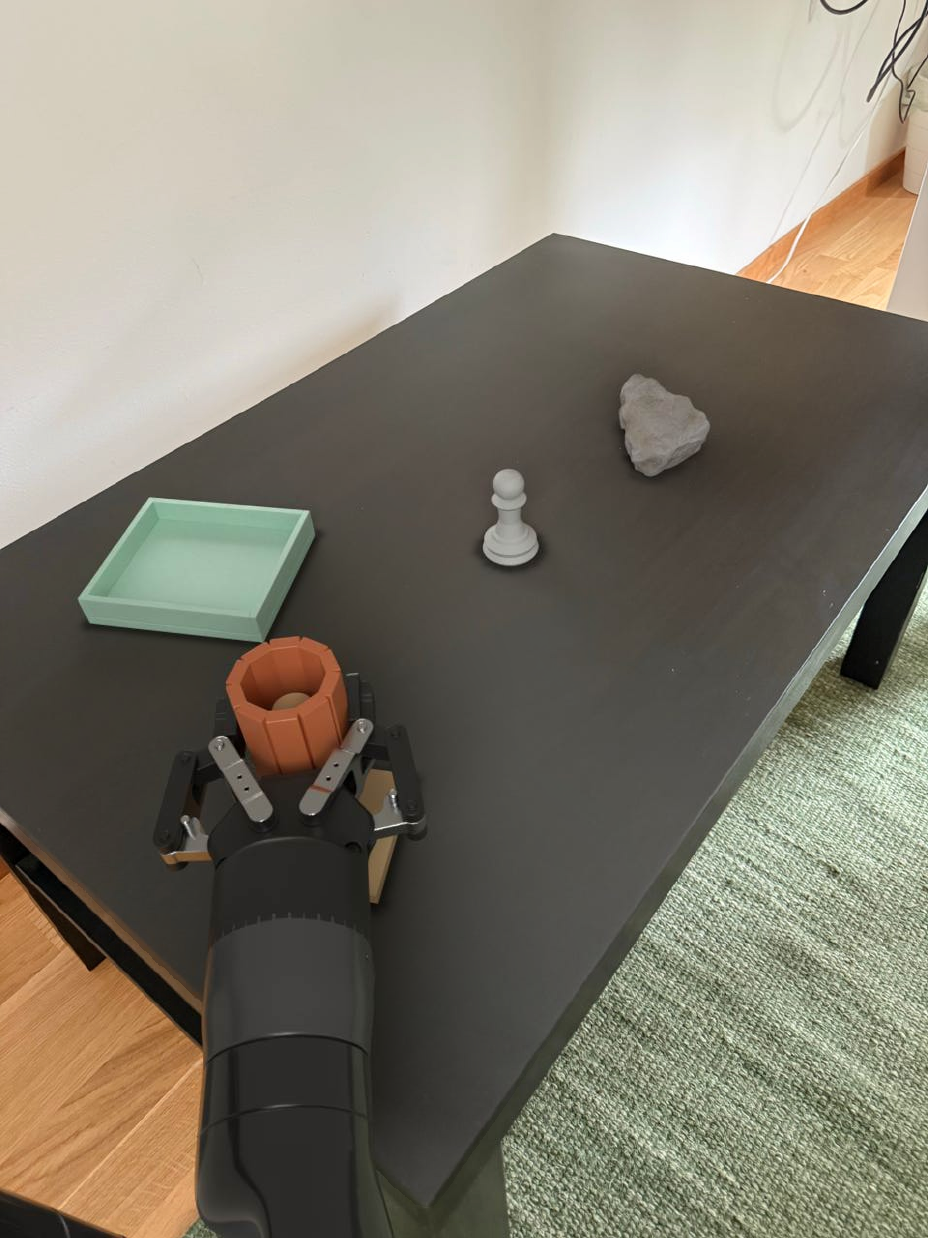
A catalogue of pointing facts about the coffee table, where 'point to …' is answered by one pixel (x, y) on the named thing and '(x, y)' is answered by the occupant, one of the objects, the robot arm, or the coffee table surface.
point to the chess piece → (509, 523)
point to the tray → (200, 569)
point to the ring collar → (295, 732)
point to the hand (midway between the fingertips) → (296, 690)
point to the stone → (659, 425)
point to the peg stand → (372, 800)
